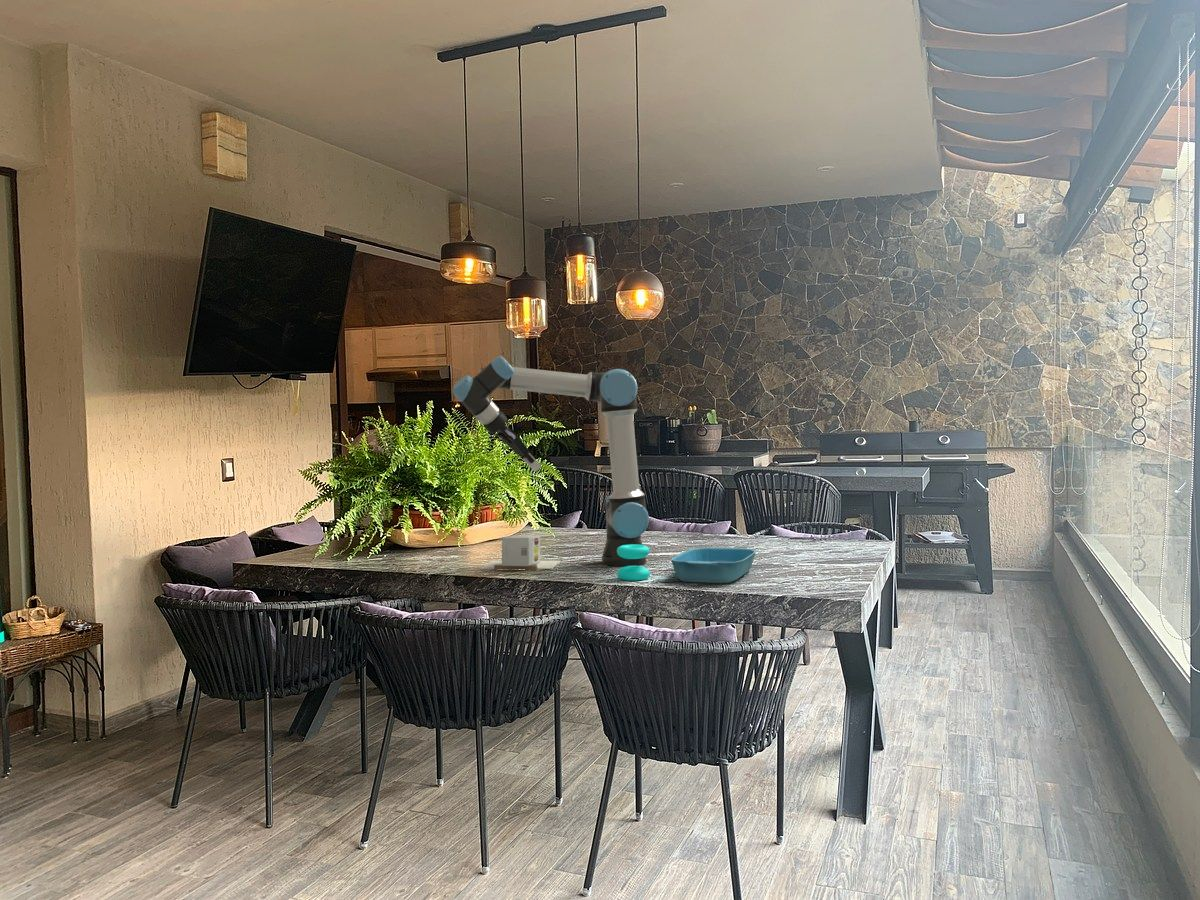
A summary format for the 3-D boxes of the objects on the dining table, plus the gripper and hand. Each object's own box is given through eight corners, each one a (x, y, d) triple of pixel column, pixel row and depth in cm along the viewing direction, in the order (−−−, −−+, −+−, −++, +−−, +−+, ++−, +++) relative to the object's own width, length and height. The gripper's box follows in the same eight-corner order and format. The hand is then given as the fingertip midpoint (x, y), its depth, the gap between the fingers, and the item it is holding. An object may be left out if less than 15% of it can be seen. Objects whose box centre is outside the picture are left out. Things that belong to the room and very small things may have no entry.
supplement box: (529, 537, 303) (541, 534, 320) (501, 536, 305) (514, 534, 321) (529, 567, 303) (540, 562, 319) (501, 566, 304) (514, 562, 321)
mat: (560, 562, 322) (560, 557, 322) (551, 570, 305) (551, 565, 305) (491, 562, 325) (491, 557, 325) (479, 570, 308) (479, 565, 308)
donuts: (644, 548, 281) (612, 547, 284) (645, 582, 281) (613, 580, 284) (653, 544, 290) (622, 543, 293) (653, 576, 291) (622, 575, 294)
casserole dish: (694, 565, 311) (693, 544, 311) (761, 568, 304) (761, 546, 303) (662, 585, 277) (662, 561, 276) (737, 588, 269) (737, 563, 269)
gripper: (476, 424, 306) (522, 474, 315) (489, 427, 294) (537, 479, 303) (492, 408, 308) (538, 458, 316) (506, 410, 296) (553, 462, 305)
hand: (537, 468), depth 310 cm, fingers closed
